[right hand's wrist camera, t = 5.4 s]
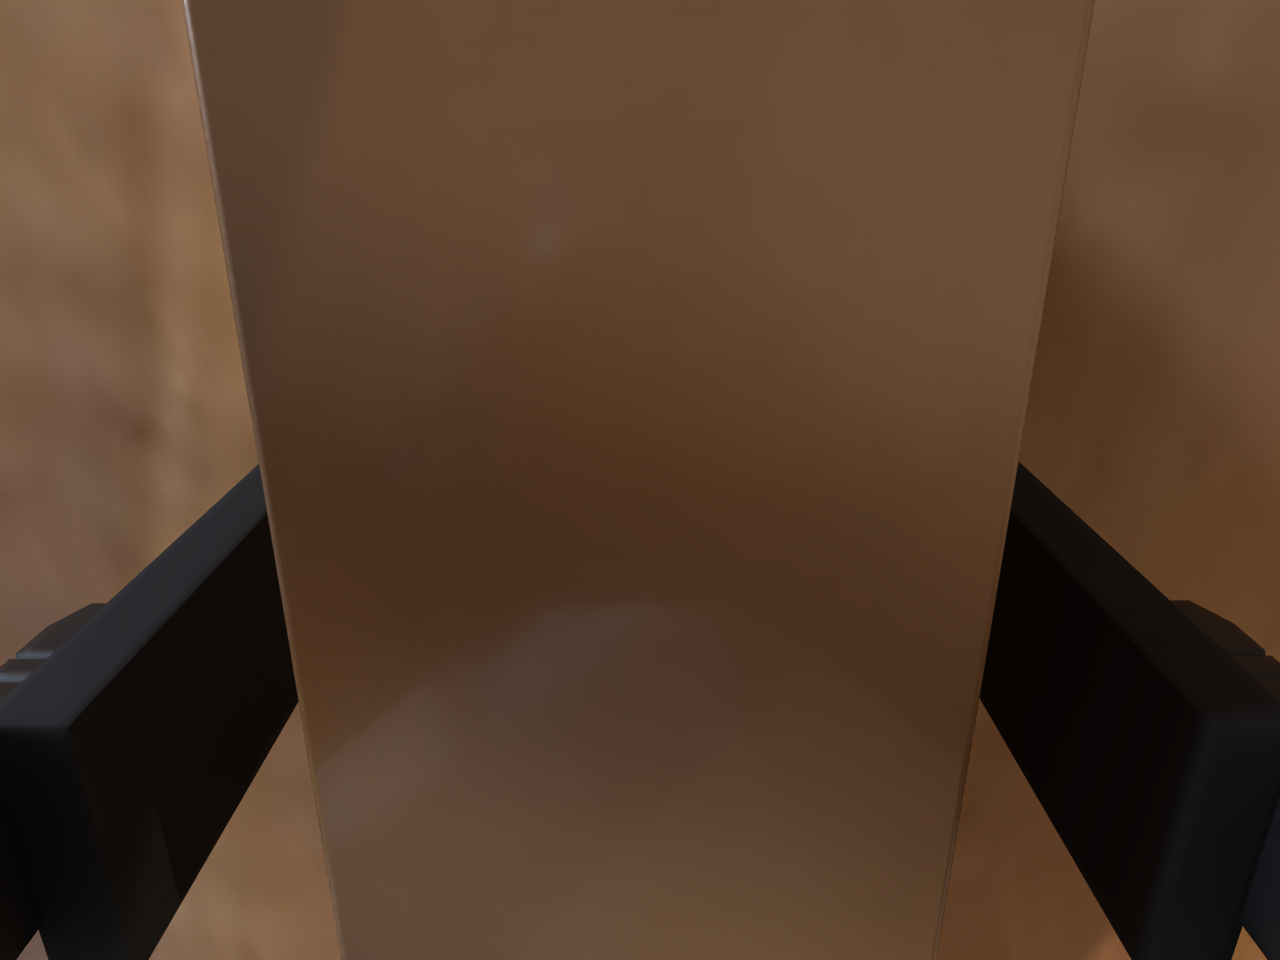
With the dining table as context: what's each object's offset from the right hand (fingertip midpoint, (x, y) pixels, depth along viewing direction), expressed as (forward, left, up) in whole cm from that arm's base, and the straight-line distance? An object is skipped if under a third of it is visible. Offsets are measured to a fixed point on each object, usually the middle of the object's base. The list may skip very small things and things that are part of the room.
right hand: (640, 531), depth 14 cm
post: (+13, -23, -1) cm, 26 cm away
